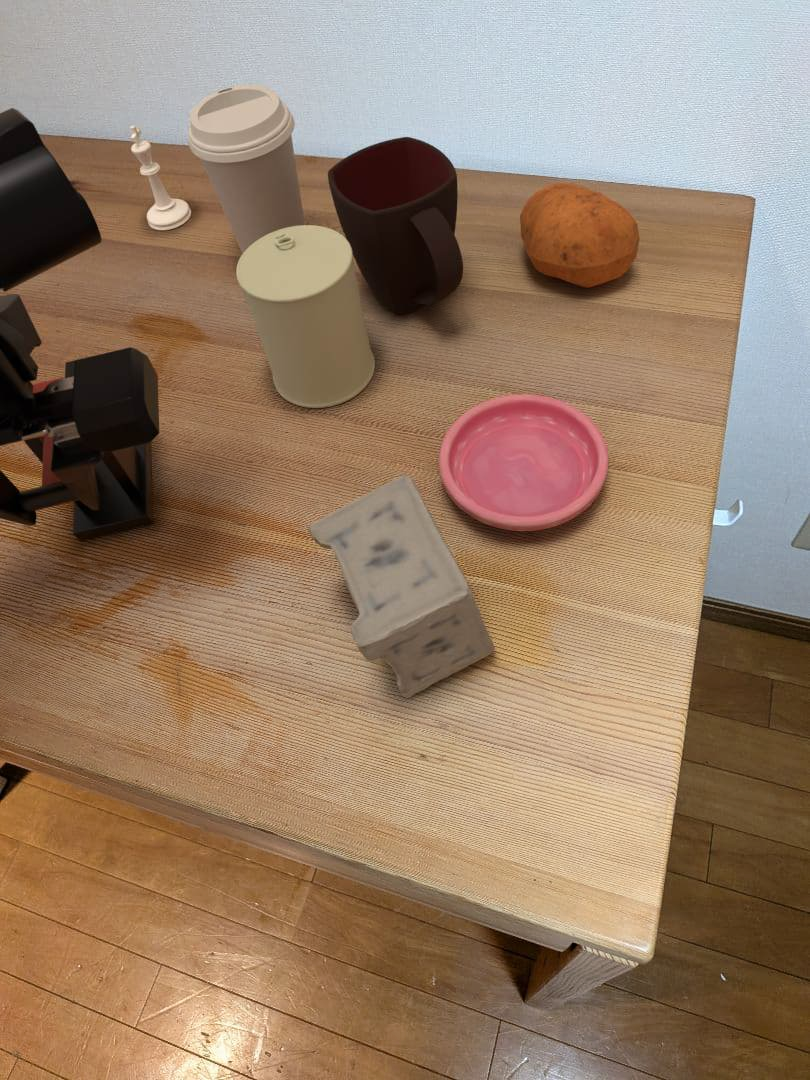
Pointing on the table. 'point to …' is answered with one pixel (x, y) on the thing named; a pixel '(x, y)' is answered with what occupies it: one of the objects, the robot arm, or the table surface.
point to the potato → (578, 234)
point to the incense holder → (404, 586)
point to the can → (308, 314)
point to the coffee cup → (249, 159)
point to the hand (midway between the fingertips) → (65, 512)
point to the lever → (46, 478)
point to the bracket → (112, 488)
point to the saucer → (523, 462)
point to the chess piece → (158, 190)
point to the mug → (400, 221)
